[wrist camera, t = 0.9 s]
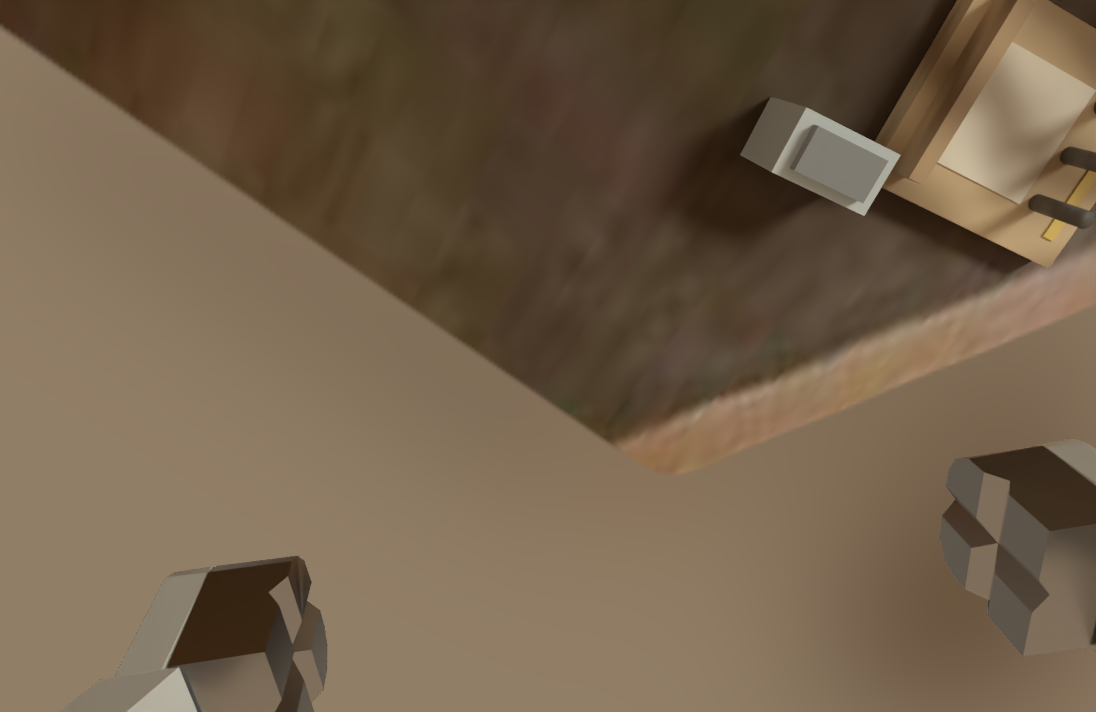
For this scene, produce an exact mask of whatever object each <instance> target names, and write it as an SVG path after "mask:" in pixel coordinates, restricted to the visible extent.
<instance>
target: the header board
mask: <svg viewBox="0 0 1096 712" xmlns="http://www.w3.org/2000/svg"><path fill="white" fill-rule="evenodd" d="M874 142H876V143H878V144H880V145H882V146H884V147H886V148H888V149H890V150H892V151H894V152H896V153H898V154H900V155H901V156H900V157H899V159H898V161H897V162H896V164H895V166H894V167H893V169H892V171H891V172H890V174H889V176H888V177H887V179H886V181H885V182H884V184H883V186H882V187H881V188H883V189H885V190H887V191H889V192H891V193H893V194H895V195H897V196H899V197H901V198H904V199H906V200H908V201H910V202H912V203H914V204H916V205H918V206H920V207H922V208H924V209H926V210H928V211H930V212H932V213H934V214H936V215H938V216H940V217H943V218H945V219H947V220H949V221H951V222H953V223H955V224H957V225H959V226H961V227H963V228H965V229H967V230H969V231H971V232H973V233H975V234H977V235H979V236H982V237H984V238H986V239H988V240H990V241H992V242H994V243H996V244H998V245H1000V246H1002V247H1004V248H1006V249H1008V250H1010V251H1012V252H1014V253H1016V254H1018V255H1021V256H1023V257H1025V258H1027V259H1029V260H1031V261H1033V262H1035V263H1037V264H1039V265H1042V266H1044V267H1046V268H1048V269H1049V267H1050V266H1051V264H1052V263H1053V262H1054V260H1055V259H1056V257H1057V256H1058V254H1059V253H1060V252H1061V250H1062V249H1063V247H1064V246H1065V245H1066V243H1067V242H1068V240H1069V239H1070V238H1071V236H1072V235H1073V233H1074V232H1075V230H1076V229H1077V228H1081V229H1084V228H1087V227H1089V226H1090V225H1091V224H1092V223H1093V221H1094V214H1093V212H1091V211H1090V209H1091V208H1092V206H1093V205H1094V204H1095V202H1096V29H1095V28H1093V27H1092V26H1090V25H1088V24H1087V23H1085V22H1083V21H1082V20H1080V19H1078V18H1077V17H1075V16H1073V15H1072V14H1070V13H1068V12H1067V11H1065V10H1064V9H1062V8H1060V7H1059V6H1057V5H1055V4H1054V3H1052V2H1050V1H1049V0H957V1H956V3H955V5H954V6H953V8H952V10H951V11H950V13H949V15H948V17H947V18H946V20H945V22H944V23H943V25H942V27H941V29H940V30H939V32H938V34H937V35H936V37H935V39H934V40H933V42H932V44H931V46H930V47H929V49H928V51H927V52H926V54H925V56H924V58H923V59H922V61H921V63H920V64H919V66H918V68H917V70H916V71H915V73H914V75H913V76H912V78H911V80H910V82H909V83H908V85H907V87H906V88H905V90H904V92H903V93H902V95H901V97H900V99H899V100H898V102H897V104H896V105H895V107H894V109H893V111H892V112H891V114H890V116H889V117H888V119H887V121H886V123H885V124H884V126H883V128H882V129H881V131H880V133H879V135H878V136H877V138H876V140H875V141H874Z"/></svg>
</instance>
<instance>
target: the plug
mask: <svg viewBox="0 0 1096 712" xmlns="http://www.w3.org/2000/svg"><path fill="white" fill-rule="evenodd" d="M740 155H741V156H743V157H745V158H746V159H748V160H750V161H752V162H754V163H756V164H757V165H759V166H761V167H763V168H765V169H767V170H768V171H770V172H772V173H774V174H776V175H779V176H781V177H783V178H785V179H787V180H789V181H791V182H793V183H795V184H798V185H800V186H802V187H804V188H806V189H808V190H810V191H812V192H815V193H817V194H819V195H821V196H823V197H825V198H827V199H829V200H832V201H834V202H836V203H838V204H840V205H842V206H844V207H846V208H848V209H851V210H853V211H855V212H857V213H859V214H861V215H863V216H865V214H866V212H867V211H868V209H869V207H870V206H871V204H872V202H873V201H874V199H875V197H876V196H877V194H878V192H879V191H880V189H881V187H882V186H883V184H884V182H885V181H886V179H887V177H888V176H889V174H890V172H891V171H892V169H893V167H894V166H895V164H896V162H897V161H898V159H899V157H900V156H901V155H900V154H898V153H896V152H894V151H892V150H890V149H888V148H886V147H884V146H882V145H880V144H878V143H876V142H874V141H872V140H870V139H868V138H866V137H864V136H862V135H860V134H858V133H856V132H854V131H852V130H850V129H848V128H846V127H844V126H842V125H840V124H838V123H836V122H834V121H832V120H830V119H828V118H826V117H824V116H822V115H820V114H818V113H816V112H814V111H812V110H810V109H809V108H807V107H803V106H800V105H797V104H793V103H790V102H787V101H784V100H780V99H777V98H774V97H770V99H769V101H768V103H767V105H766V106H765V108H764V110H763V112H762V114H761V116H760V118H759V120H758V122H757V124H756V125H755V127H754V129H753V131H752V133H751V135H750V137H749V139H748V141H747V143H746V145H745V146H744V148H743V150H742V152H741V154H740Z"/></svg>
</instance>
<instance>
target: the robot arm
mask: <svg viewBox="0 0 1096 712" xmlns="http://www.w3.org/2000/svg"><path fill="white" fill-rule="evenodd" d="M946 487H947V489H948V490H949V491H950V493H951V494H952V495H953V497H954V498H955V499H956V500H955V501H954V502H953V503H952V504H951V506H950V507H949V508H948V509H947V510H946V512H945V513H944V514H943V515H942V519H941V530H940V541H941V545H942V549H943V554H944V558H945V560H946V562H947V564H948V566H949V568H950V570H951V572H952V574H953V575H954V576H955V578H956V579H957V580H958V581H959V583H960V584H961V585H962V586H963V587H964V588H965V589H966V590H968V591H970V592H972V593H974V594H976V595H979V596H980V597H983V598H985V599H987V600H988V613H987V615H988V617H989V618H990V619H991V620H992V621H993V622H994V624H995V625H996V626H997V627H998V628H999V629H1000V631H1001V632H1002V633H1003V634H1004V635H1005V636H1006V637H1007V639H1008V640H1009V641H1010V642H1011V643H1012V644H1013V646H1014V647H1015V648H1016V649H1017V650H1018V651H1019V652H1020V654H1021V655H1022V656H1031V655H1038V654H1045V653H1052V652H1060V651H1068V650H1075V649H1083V648H1091V647H1095V649H1094V651H1096V449H1094V448H1093V447H1092V446H1090V445H1089V444H1088V443H1086V442H1082V441H1079V440H1074V439H1067V440H1063V441H1056V442H1051V443H1046V444H1039V445H1034V446H1032V447H1030V448H1024V449H1017V450H1010V451H1004V452H998V453H991V454H984V455H978V456H971V457H965V458H958V459H955V460H954V461H953V463H952V465H951V467H950V468H949V471H948V476H947V483H946ZM310 586H311V579H310V576H309V573H308V570H307V567H306V564H305V561H304V560H303V559H301V558H300V557H299V556H291V557H284V558H276V559H268V560H260V561H252V562H245V563H236V564H228V565H220V566H216V567H207V568H200V569H193V570H186V571H179V572H174V573H172V574H171V575H169V576H168V577H166V578H165V579H164V581H163V583H162V585H161V587H160V589H159V590H158V592H157V595H156V596H155V598H154V600H153V602H152V604H151V606H150V608H149V610H148V612H147V614H146V616H145V618H144V620H143V622H142V624H141V625H140V627H139V629H138V631H137V633H136V635H135V637H134V639H133V641H132V643H131V645H130V647H129V649H128V651H127V653H126V655H125V656H124V658H123V661H122V663H121V664H120V666H119V668H118V670H117V672H116V674H115V676H114V677H111V678H105V679H100V680H99V681H97V682H96V683H95V684H94V685H92V686H91V687H90V688H88V689H87V690H86V691H85V692H83V693H82V694H81V695H80V696H78V697H77V698H76V699H75V700H73V701H72V702H71V703H69V704H68V705H67V706H66V707H64V708H63V709H62V710H61V711H59V712H314V710H313V707H312V702H313V701H314V700H315V699H316V697H317V696H318V695H319V694H320V693H321V692H322V691H323V690H324V684H325V679H326V673H327V640H326V633H325V626H324V623H323V619H322V615H321V612H320V610H319V609H317V608H316V607H314V606H313V605H312V604H311V603H309V602H307V598H308V595H309V591H310Z"/></svg>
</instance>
